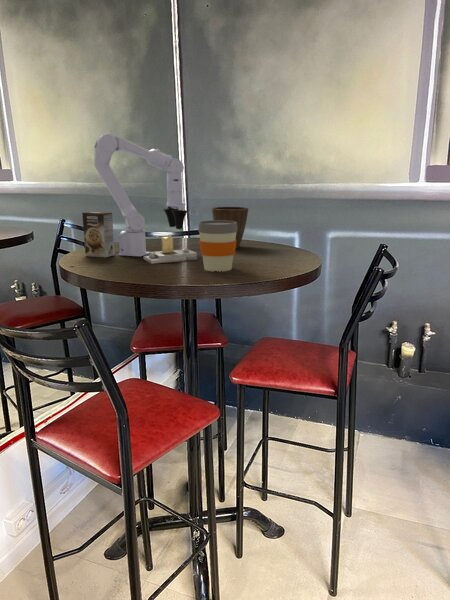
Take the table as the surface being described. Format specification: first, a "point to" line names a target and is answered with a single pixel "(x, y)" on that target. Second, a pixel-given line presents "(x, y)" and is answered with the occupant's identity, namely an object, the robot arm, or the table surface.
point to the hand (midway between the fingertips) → (175, 227)
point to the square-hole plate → (171, 256)
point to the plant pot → (232, 218)
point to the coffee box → (98, 234)
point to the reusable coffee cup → (217, 244)
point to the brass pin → (167, 245)
